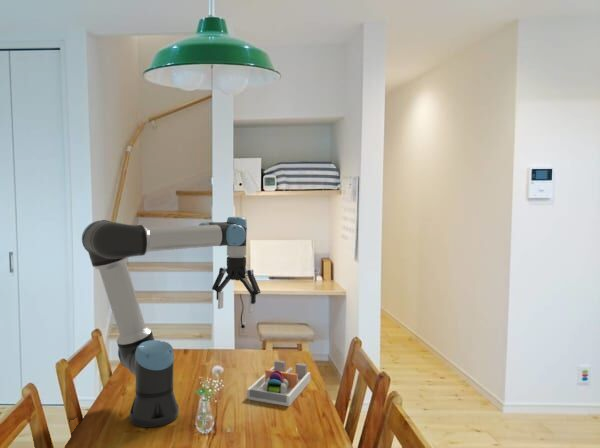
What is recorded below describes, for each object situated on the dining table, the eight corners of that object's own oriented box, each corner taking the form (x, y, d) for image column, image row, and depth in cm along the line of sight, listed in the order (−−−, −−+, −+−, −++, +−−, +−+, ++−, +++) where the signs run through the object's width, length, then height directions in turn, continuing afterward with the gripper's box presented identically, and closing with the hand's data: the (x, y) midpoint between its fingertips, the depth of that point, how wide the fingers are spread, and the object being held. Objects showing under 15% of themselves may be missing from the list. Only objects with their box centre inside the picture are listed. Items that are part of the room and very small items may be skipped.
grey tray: (289, 406, 159) (289, 387, 158) (246, 399, 164) (247, 381, 164) (310, 381, 181) (310, 364, 181) (272, 375, 187) (272, 359, 186)
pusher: (296, 388, 171) (296, 375, 171) (265, 383, 175) (265, 370, 175) (305, 377, 182) (306, 365, 181) (276, 373, 186) (276, 360, 185)
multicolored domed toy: (289, 387, 173) (290, 368, 172) (284, 398, 163) (284, 377, 163) (267, 385, 174) (267, 366, 174) (261, 395, 164) (261, 375, 164)
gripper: (269, 257, 179) (268, 311, 180) (214, 253, 188) (213, 304, 189) (261, 259, 172) (259, 315, 173) (203, 255, 181) (203, 308, 182)
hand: (235, 310), depth 181 cm, fingers open, 13 cm apart
